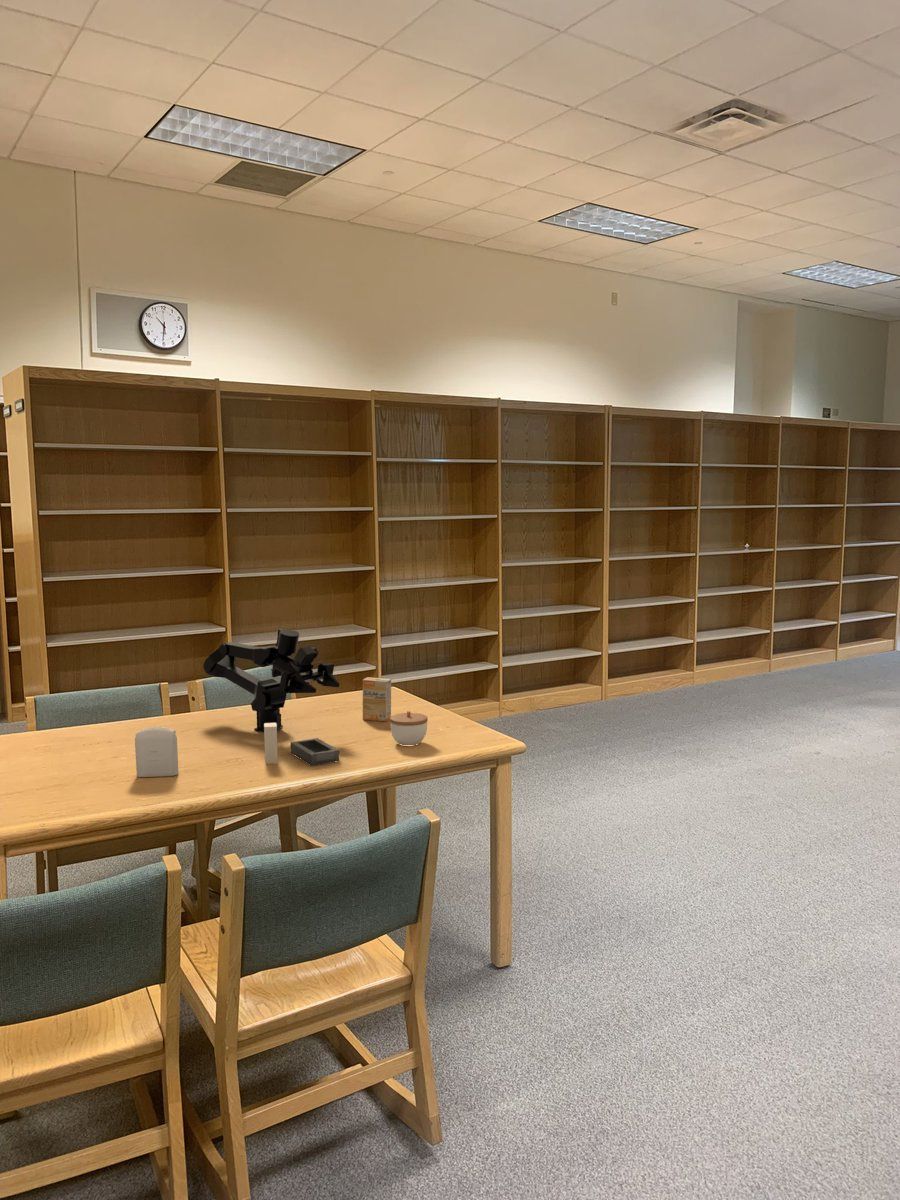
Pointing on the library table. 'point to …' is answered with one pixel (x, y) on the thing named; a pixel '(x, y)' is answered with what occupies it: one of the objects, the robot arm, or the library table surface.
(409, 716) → the lidded jar
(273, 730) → the pale grey rectangular block
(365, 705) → the supplement box
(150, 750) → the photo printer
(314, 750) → the grey rectangular tray
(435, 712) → the library table surface
